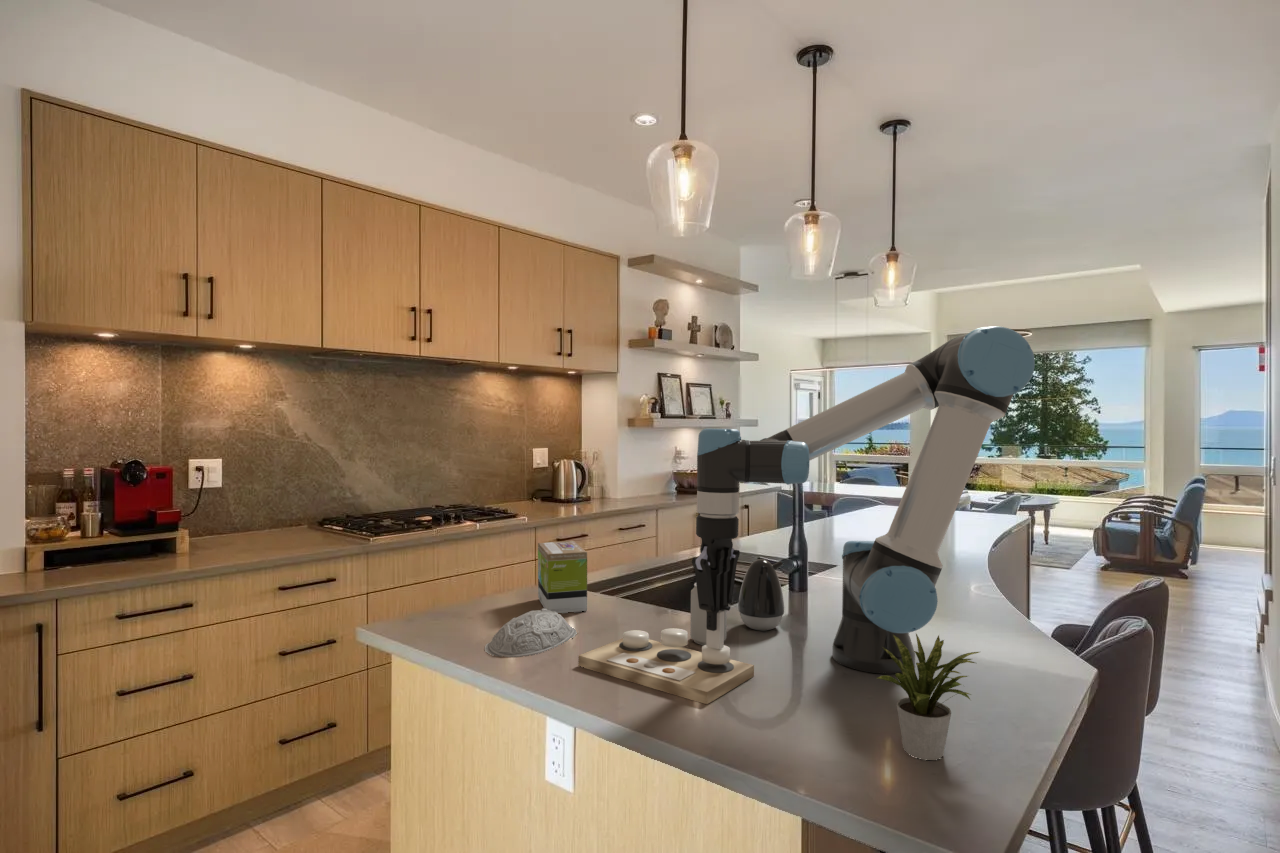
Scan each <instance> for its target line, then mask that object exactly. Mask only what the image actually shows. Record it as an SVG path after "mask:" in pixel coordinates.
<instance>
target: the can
mask: <svg viewBox="0 0 1280 853" xmlns="http://www.w3.org/2000/svg"><path fill="white" fill-rule="evenodd" d="M693 586H694V587H693V588H692V589H691V590H690V636H689V637H690V638H691V639H692V640H693V641H694V642H695V644H697V645H700V646H704V645H706V633H707V627H706V624H707V612H706V611H705V610H702V609H700V608H699V602H698V593H697V585H696V582H694V584H693ZM727 612H728V610H724V641H725V640H726V639H727V617H728V616H727Z"/></svg>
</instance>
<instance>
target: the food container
mask: <svg viewBox="0 0 1280 853" xmlns="http://www.w3.org/2000/svg"><path fill="white" fill-rule="evenodd" d="M572 627H573V626H571V625H570V624H569V623H568V621H567V620H566V619H565V618H564V617H563V616H562V614H558V613H557V612H555V611H553V612H552V611H550V610H547V609H545V608H544V607H543V608H540V610H539V609H538V610H530V611H527V612H525V613H523V614H521V615H519V616H517V617H513V618H511V619H510V620H509V621H507V622H506V623H504V624H503V626H501V627H500V628H499V630H497V632H496V633H495V634H494V635H493V637H491V641H490V642H488V643H486V645H485V646H484V651H485V653H486V652H487V653H488V654H487V653H486V654H487V655H489V654H491V655H492V657H503V656H504V657H503V658H522V657H523V656H525V657H529V655H531V656H535V654H536V655H538V653H539V654H542V652H543V653H545V652H544V651H546V652H548V651H550V650H549V649H551V650H553V649H555V648H557V647H559V646H558V645H560V644H561V645H563V644H565V643H564V642H566V641H568V640H569V639H570V638H573V637H574V638H575V637H576V636H577V632H576V630H575V629H576V628H575V627H574V628H575V629H574V628H572ZM574 638H573V639H574ZM568 642H569V641H568ZM562 643H563V644H562ZM566 643H567V642H566ZM561 645H560V646H561ZM554 647H555V648H554ZM552 648H553V649H552ZM547 650H548V651H547ZM491 655H490V656H491ZM494 655H495V656H494Z"/></svg>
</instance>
